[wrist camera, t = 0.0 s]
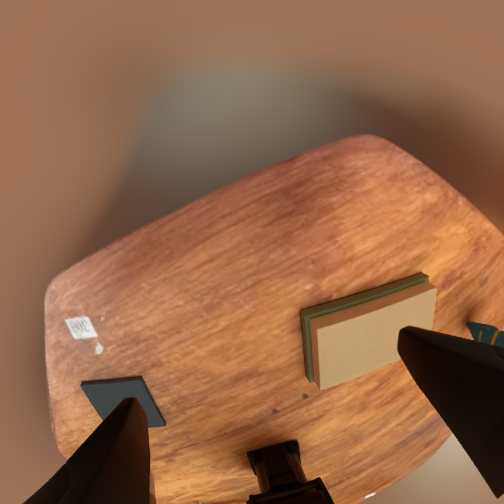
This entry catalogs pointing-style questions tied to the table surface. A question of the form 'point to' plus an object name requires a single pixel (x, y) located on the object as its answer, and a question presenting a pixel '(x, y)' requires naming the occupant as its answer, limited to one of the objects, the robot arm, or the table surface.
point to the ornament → (486, 333)
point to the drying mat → (122, 397)
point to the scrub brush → (363, 329)
